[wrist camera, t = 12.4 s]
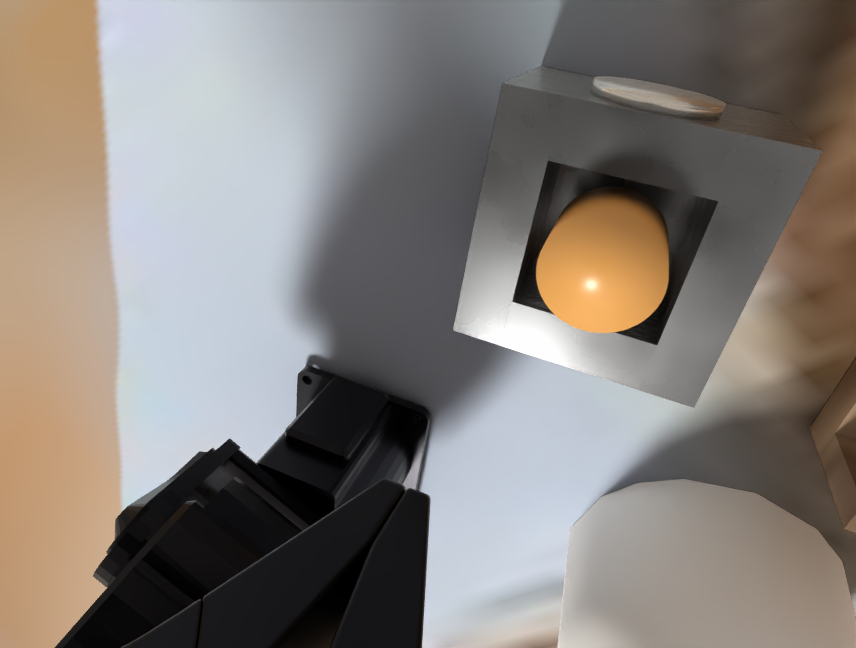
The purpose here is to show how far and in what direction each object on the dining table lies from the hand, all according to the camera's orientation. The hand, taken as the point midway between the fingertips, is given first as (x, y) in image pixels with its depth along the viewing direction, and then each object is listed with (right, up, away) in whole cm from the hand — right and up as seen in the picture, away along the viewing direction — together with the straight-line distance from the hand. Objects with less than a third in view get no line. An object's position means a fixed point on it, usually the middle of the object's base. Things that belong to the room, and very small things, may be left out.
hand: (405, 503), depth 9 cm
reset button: (+6, +6, +8) cm, 11 cm away
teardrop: (+12, -8, +15) cm, 21 cm away
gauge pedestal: (+7, +7, +9) cm, 13 cm away
